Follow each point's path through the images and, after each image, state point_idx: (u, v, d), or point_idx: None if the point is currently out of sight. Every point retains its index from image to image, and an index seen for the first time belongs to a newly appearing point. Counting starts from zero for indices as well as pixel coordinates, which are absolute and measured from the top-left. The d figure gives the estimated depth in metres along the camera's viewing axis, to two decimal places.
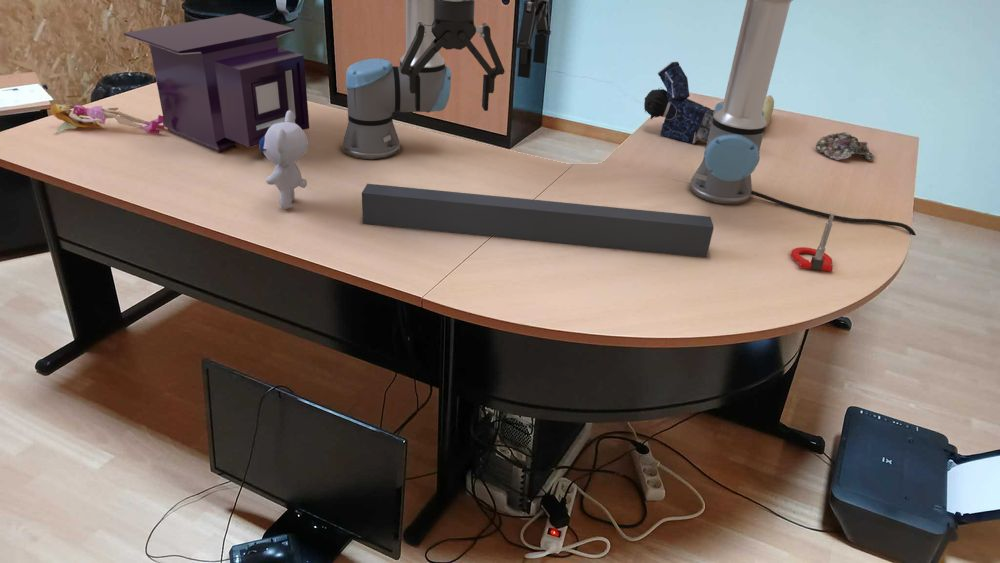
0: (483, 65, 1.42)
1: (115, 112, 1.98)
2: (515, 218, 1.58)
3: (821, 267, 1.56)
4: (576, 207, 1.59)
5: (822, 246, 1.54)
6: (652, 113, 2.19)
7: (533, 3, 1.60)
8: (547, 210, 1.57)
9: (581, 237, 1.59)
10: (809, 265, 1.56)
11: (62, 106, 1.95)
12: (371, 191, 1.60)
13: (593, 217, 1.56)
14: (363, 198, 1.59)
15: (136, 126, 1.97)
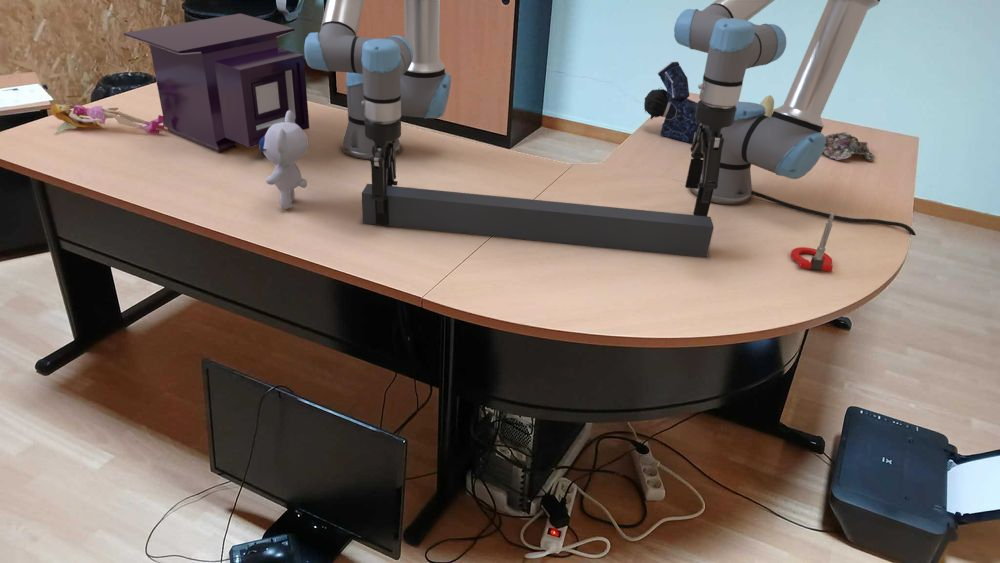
0: None
1: (115, 112, 1.98)
2: (515, 218, 1.58)
3: (821, 267, 1.56)
4: (576, 207, 1.59)
5: (822, 246, 1.54)
6: (652, 113, 2.19)
7: (721, 139, 1.41)
8: (547, 210, 1.57)
9: (581, 237, 1.59)
10: (809, 265, 1.56)
11: (62, 106, 1.95)
12: (371, 191, 1.60)
13: (593, 217, 1.56)
14: (363, 198, 1.59)
15: (136, 126, 1.97)
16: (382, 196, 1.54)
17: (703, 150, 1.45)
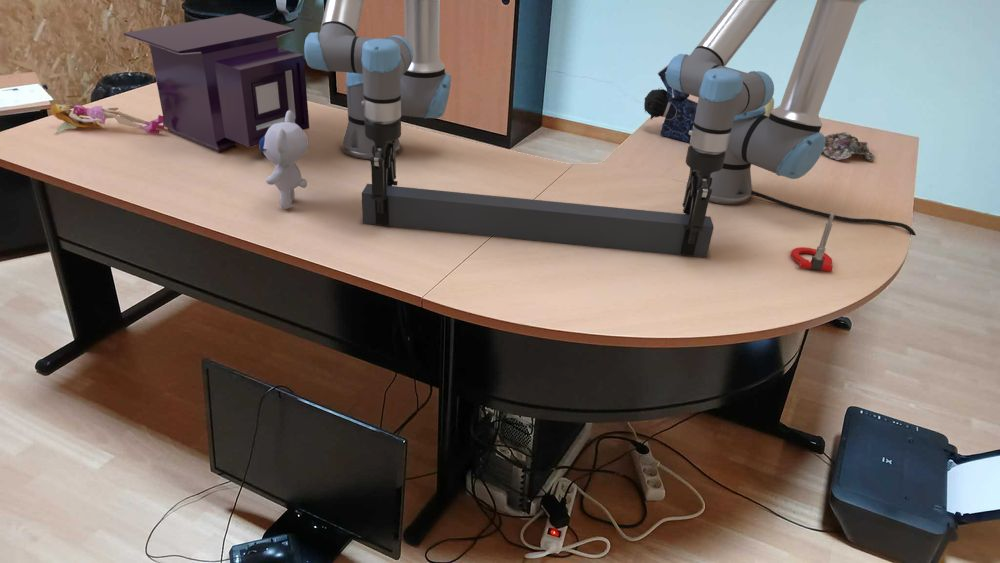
0: None
1: (115, 112, 1.98)
2: (515, 218, 1.58)
3: (821, 267, 1.56)
4: (576, 207, 1.59)
5: (822, 246, 1.54)
6: (652, 113, 2.19)
7: (709, 192, 1.46)
8: (547, 210, 1.57)
9: (581, 237, 1.59)
10: (809, 265, 1.56)
11: (62, 106, 1.95)
12: (371, 191, 1.60)
13: (593, 217, 1.56)
14: (363, 198, 1.59)
15: (136, 126, 1.97)
16: (382, 196, 1.54)
17: (692, 195, 1.51)
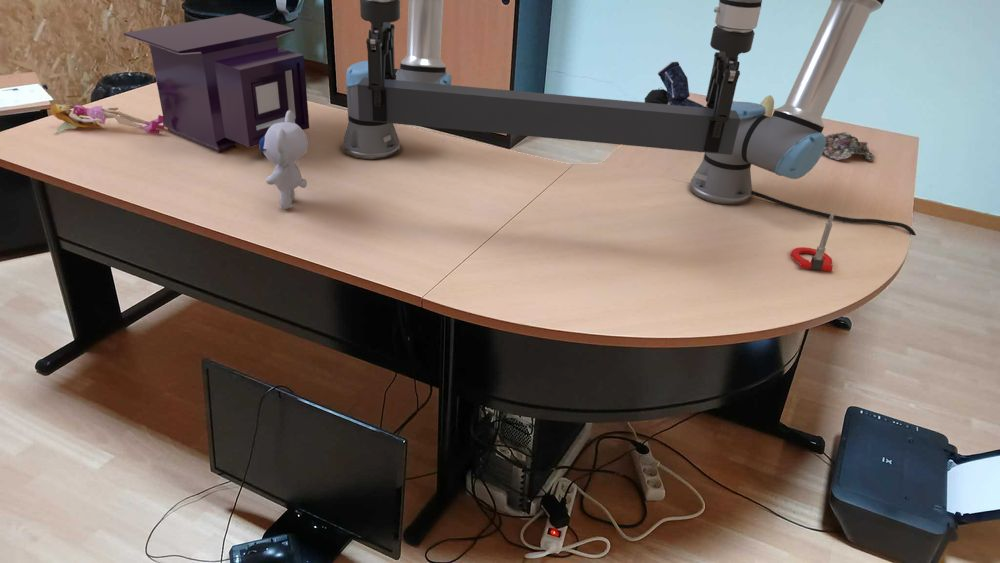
0: None
1: (115, 112, 1.98)
2: (525, 112, 1.46)
3: (821, 267, 1.56)
4: (590, 100, 1.46)
5: (822, 246, 1.54)
6: None
7: (737, 73, 1.34)
8: (559, 102, 1.44)
9: (595, 132, 1.47)
10: (809, 265, 1.56)
11: (62, 106, 1.95)
12: (368, 83, 1.47)
13: (609, 110, 1.44)
14: (359, 90, 1.47)
15: (136, 126, 1.97)
16: (379, 85, 1.42)
17: (717, 81, 1.39)
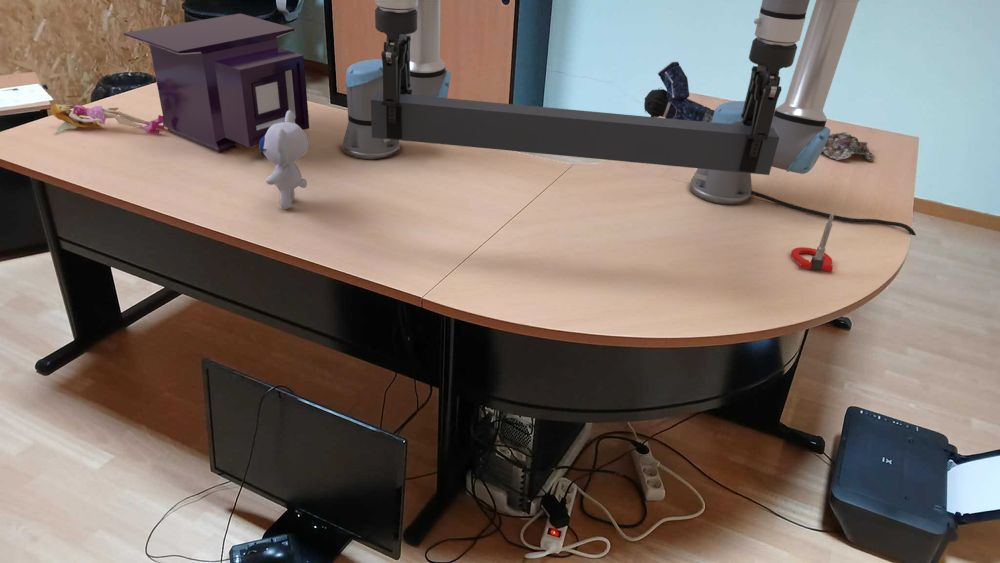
0: None
1: (115, 112, 1.98)
2: (549, 129, 1.37)
3: (821, 267, 1.56)
4: (619, 117, 1.38)
5: (822, 246, 1.54)
6: (652, 113, 2.19)
7: (778, 89, 1.25)
8: (586, 119, 1.36)
9: (624, 151, 1.38)
10: (809, 265, 1.56)
11: (62, 106, 1.95)
12: (382, 98, 1.38)
13: (640, 127, 1.35)
14: (372, 106, 1.38)
15: (136, 126, 1.97)
16: (394, 101, 1.33)
17: (756, 97, 1.30)
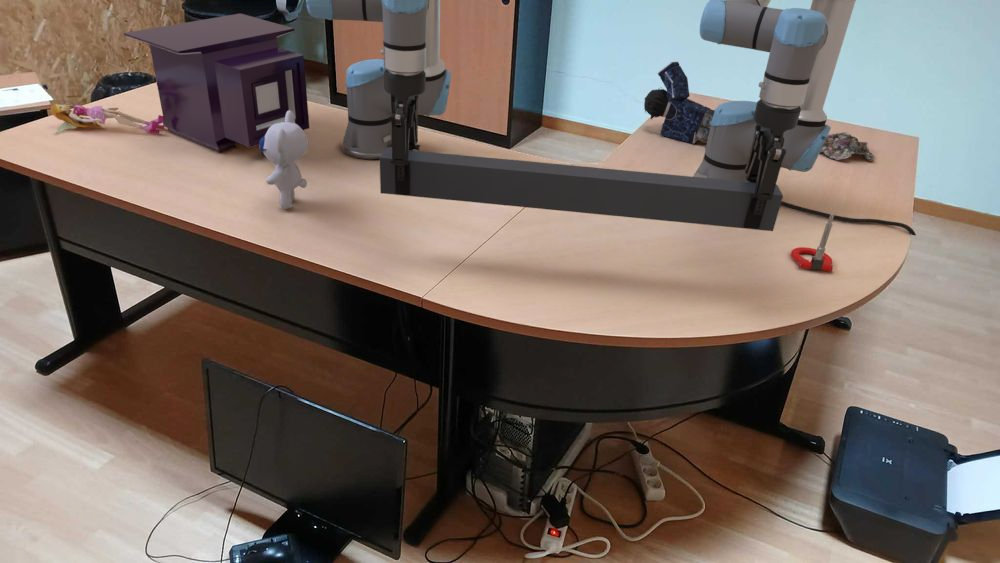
0: None
1: (115, 112, 1.98)
2: (555, 186, 1.39)
3: (821, 267, 1.56)
4: (624, 174, 1.39)
5: (822, 246, 1.54)
6: (652, 113, 2.19)
7: (783, 152, 1.27)
8: (592, 177, 1.37)
9: (630, 208, 1.40)
10: (809, 265, 1.56)
11: (62, 106, 1.95)
12: (391, 155, 1.40)
13: (645, 185, 1.37)
14: (381, 164, 1.40)
15: (136, 126, 1.97)
16: (403, 160, 1.35)
17: (760, 157, 1.32)
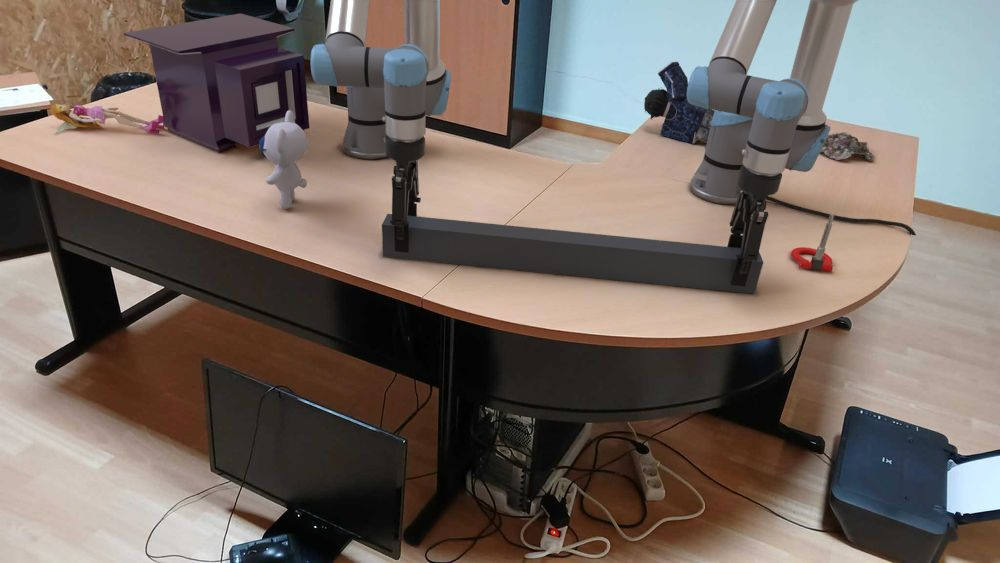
0: None
1: (115, 112, 1.98)
2: (548, 252, 1.46)
3: (821, 267, 1.56)
4: (613, 239, 1.47)
5: (822, 246, 1.54)
6: (652, 113, 2.19)
7: (766, 215, 1.33)
8: (582, 243, 1.45)
9: (619, 272, 1.47)
10: (809, 265, 1.56)
11: (62, 106, 1.95)
12: None
13: (633, 251, 1.45)
14: (383, 230, 1.47)
15: (136, 126, 1.97)
16: (402, 221, 1.40)
17: (745, 219, 1.38)
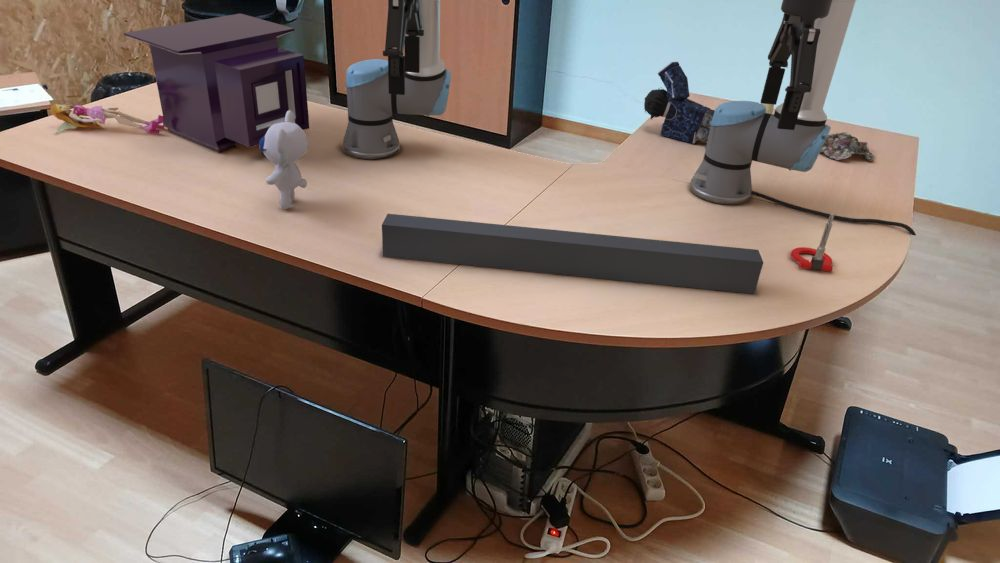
0: None
1: (115, 112, 1.98)
2: (548, 252, 1.46)
3: (821, 267, 1.56)
4: (613, 239, 1.47)
5: (822, 246, 1.54)
6: (652, 113, 2.19)
7: (817, 31, 1.16)
8: (582, 243, 1.45)
9: (619, 272, 1.47)
10: (809, 265, 1.56)
11: (62, 106, 1.95)
12: (392, 222, 1.48)
13: (633, 251, 1.45)
14: (383, 230, 1.47)
15: (136, 126, 1.97)
16: (397, 48, 1.21)
17: (792, 47, 1.20)
